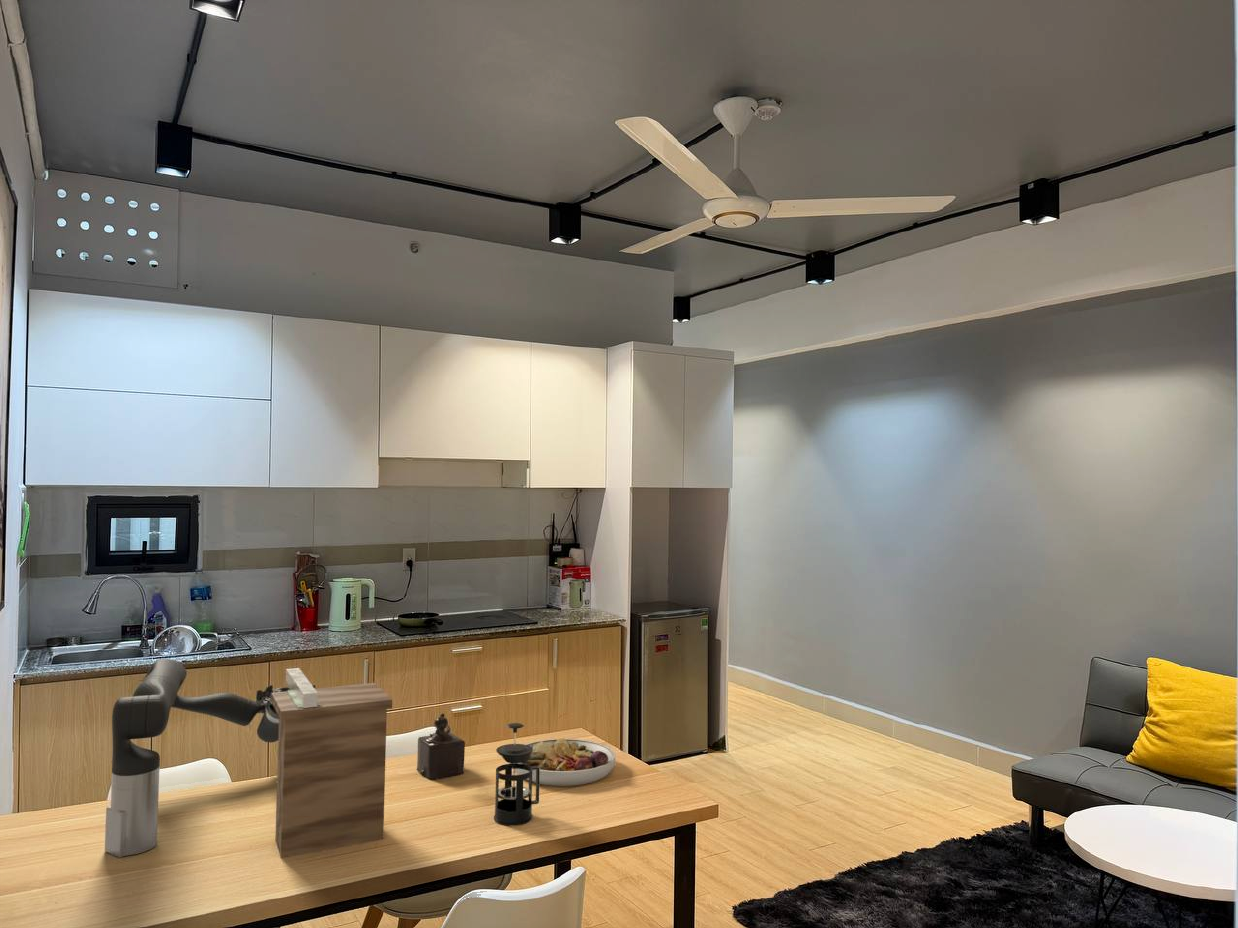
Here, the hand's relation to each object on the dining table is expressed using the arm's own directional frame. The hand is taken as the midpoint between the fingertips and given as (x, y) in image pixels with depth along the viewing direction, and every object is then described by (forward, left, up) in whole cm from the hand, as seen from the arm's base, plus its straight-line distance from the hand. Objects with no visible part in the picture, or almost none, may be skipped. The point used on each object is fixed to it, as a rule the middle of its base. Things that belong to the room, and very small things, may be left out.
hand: (289, 686), depth 212 cm
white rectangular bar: (-10, -17, +3) cm, 19 cm away
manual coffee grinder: (+38, -18, -30) cm, 52 cm away
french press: (+25, -54, -30) cm, 67 cm away
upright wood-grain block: (-7, -24, -29) cm, 39 cm away
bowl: (+60, -44, -30) cm, 80 cm away
